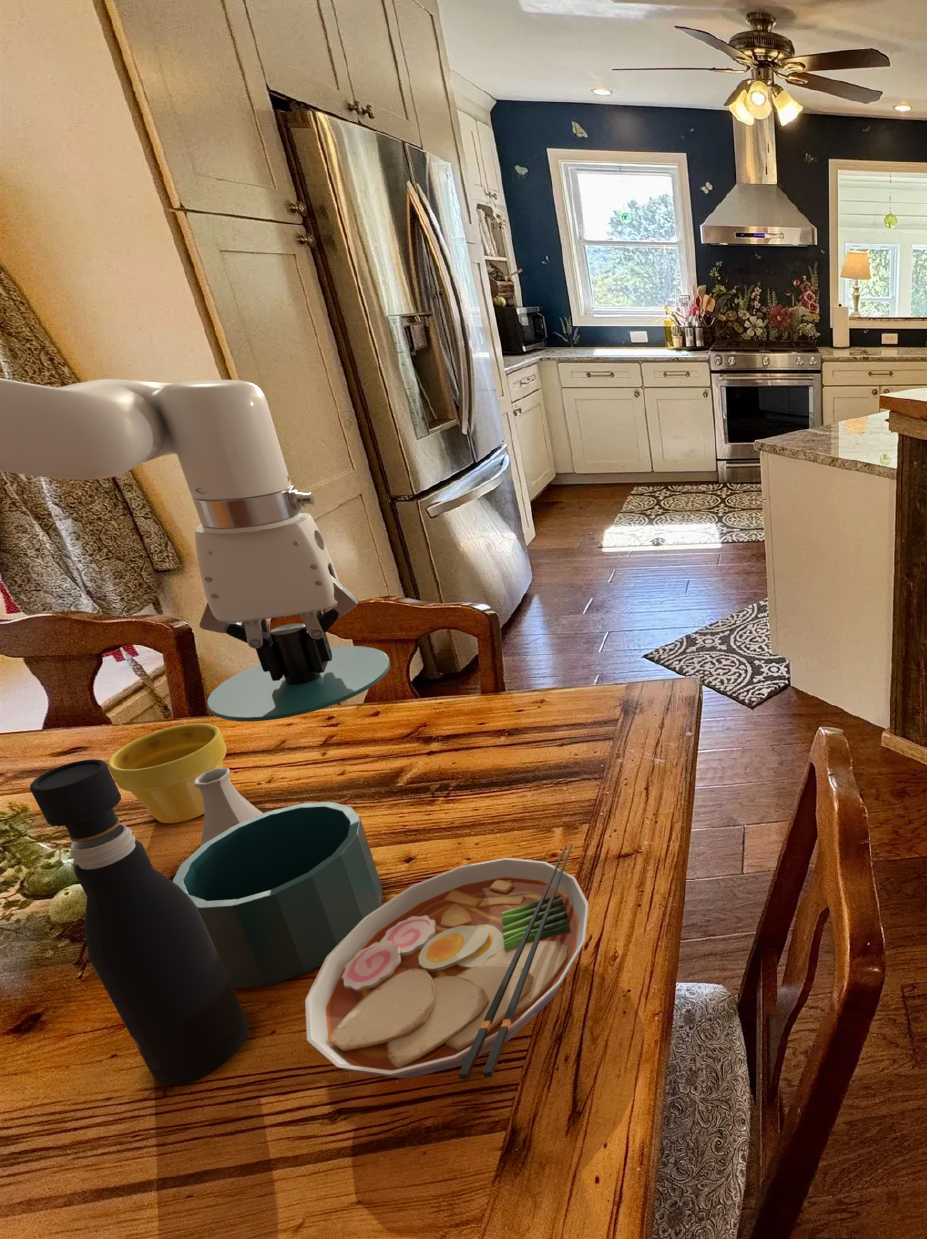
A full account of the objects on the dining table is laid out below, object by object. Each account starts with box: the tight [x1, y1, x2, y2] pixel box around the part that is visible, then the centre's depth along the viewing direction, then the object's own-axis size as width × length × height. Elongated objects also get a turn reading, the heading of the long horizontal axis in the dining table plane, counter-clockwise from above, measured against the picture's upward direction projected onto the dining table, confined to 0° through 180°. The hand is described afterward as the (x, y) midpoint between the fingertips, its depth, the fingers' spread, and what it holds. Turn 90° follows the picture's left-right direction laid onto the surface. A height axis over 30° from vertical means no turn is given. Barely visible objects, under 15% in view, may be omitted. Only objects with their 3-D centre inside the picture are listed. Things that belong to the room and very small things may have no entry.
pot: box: [171, 801, 383, 989], centre depth 73 cm, size 15×15×10 cm
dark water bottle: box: [29, 758, 250, 1087], centre depth 57 cm, size 6×6×30 cm
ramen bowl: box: [304, 844, 589, 1081], centre depth 66 cm, size 25×23×8 cm
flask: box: [194, 767, 264, 847], centre depth 84 cm, size 7×7×10 cm
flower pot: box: [107, 723, 228, 824], centre depth 90 cm, size 10×10×10 cm
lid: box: [206, 622, 391, 723], centre depth 75 cm, size 16×16×7 cm
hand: (300, 669), depth 76 cm, fingers closed on lid, 3 cm apart
